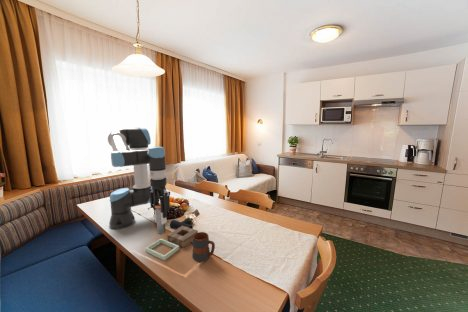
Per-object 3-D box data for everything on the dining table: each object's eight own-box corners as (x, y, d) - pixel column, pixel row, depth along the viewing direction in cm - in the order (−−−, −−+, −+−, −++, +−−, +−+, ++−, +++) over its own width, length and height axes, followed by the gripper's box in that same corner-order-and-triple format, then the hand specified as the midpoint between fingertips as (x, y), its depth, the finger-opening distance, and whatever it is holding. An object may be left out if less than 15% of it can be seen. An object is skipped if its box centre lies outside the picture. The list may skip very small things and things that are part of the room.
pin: (154, 233, 99) (152, 205, 97) (162, 229, 104) (160, 202, 101) (160, 235, 97) (159, 207, 95) (168, 231, 101) (166, 204, 99)
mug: (210, 266, 91) (210, 244, 90) (189, 260, 96) (188, 238, 94) (218, 255, 99) (218, 234, 98) (198, 250, 104) (197, 230, 102)
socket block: (167, 243, 110) (167, 234, 109) (182, 233, 120) (182, 225, 120) (183, 249, 104) (183, 240, 104) (197, 238, 115) (197, 230, 114)
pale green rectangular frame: (145, 253, 101) (145, 247, 101) (161, 243, 110) (160, 238, 109) (164, 262, 94) (164, 256, 94) (179, 250, 103) (179, 245, 103)
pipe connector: (182, 214, 135) (199, 219, 128) (182, 221, 136) (199, 226, 129) (169, 221, 125) (187, 227, 118) (170, 229, 126) (187, 235, 119)
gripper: (140, 177, 97) (143, 221, 100) (164, 182, 89) (166, 229, 92) (153, 174, 104) (155, 215, 107) (176, 178, 95) (178, 222, 99)
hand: (160, 222), depth 100 cm, fingers closed on pin, 4 cm apart
